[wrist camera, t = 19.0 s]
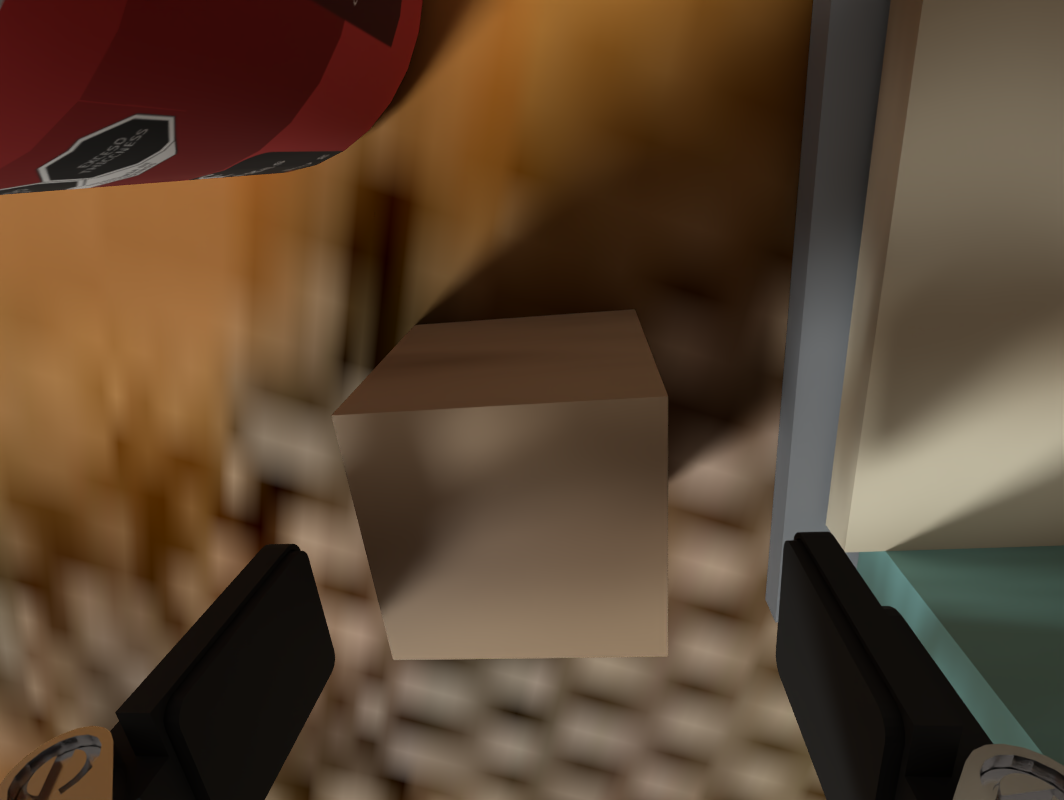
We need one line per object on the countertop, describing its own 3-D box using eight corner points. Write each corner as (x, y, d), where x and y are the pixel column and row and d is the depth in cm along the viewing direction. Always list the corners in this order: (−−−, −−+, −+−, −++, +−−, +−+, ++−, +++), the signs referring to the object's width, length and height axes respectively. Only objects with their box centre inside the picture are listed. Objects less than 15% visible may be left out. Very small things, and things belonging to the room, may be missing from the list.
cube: (638, 499, 18) (667, 656, 12) (448, 506, 18) (393, 660, 13) (634, 308, 15) (668, 396, 10) (415, 324, 16) (331, 415, 10)
